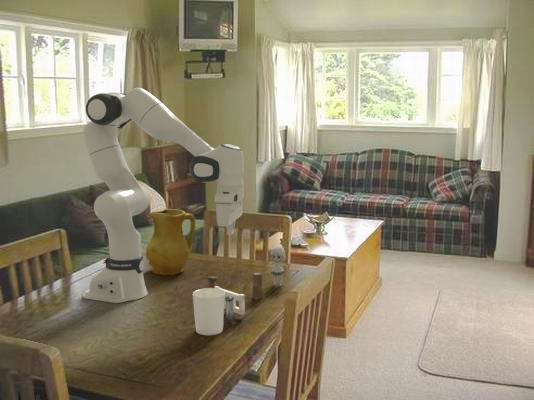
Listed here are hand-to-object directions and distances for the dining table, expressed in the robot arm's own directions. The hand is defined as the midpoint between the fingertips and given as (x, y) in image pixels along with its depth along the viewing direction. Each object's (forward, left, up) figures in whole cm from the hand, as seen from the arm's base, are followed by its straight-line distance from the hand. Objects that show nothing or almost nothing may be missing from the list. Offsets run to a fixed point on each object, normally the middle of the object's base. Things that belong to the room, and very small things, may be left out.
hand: (230, 234), depth 219 cm
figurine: (+12, +25, -25) cm, 38 cm away
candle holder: (-1, -24, -25) cm, 35 cm away
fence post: (+7, +8, -25) cm, 27 cm away
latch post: (+3, -16, -25) cm, 30 cm away
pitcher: (-34, +35, -25) cm, 55 cm away
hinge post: (-5, -5, -25) cm, 26 cm away
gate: (+2, -9, -23) cm, 25 cm away
